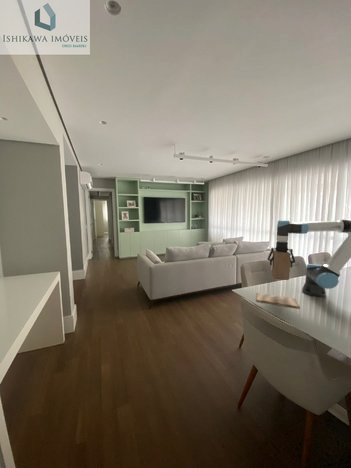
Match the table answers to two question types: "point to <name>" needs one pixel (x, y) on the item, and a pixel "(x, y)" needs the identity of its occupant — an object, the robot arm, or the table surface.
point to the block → (281, 265)
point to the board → (277, 300)
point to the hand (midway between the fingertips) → (280, 270)
